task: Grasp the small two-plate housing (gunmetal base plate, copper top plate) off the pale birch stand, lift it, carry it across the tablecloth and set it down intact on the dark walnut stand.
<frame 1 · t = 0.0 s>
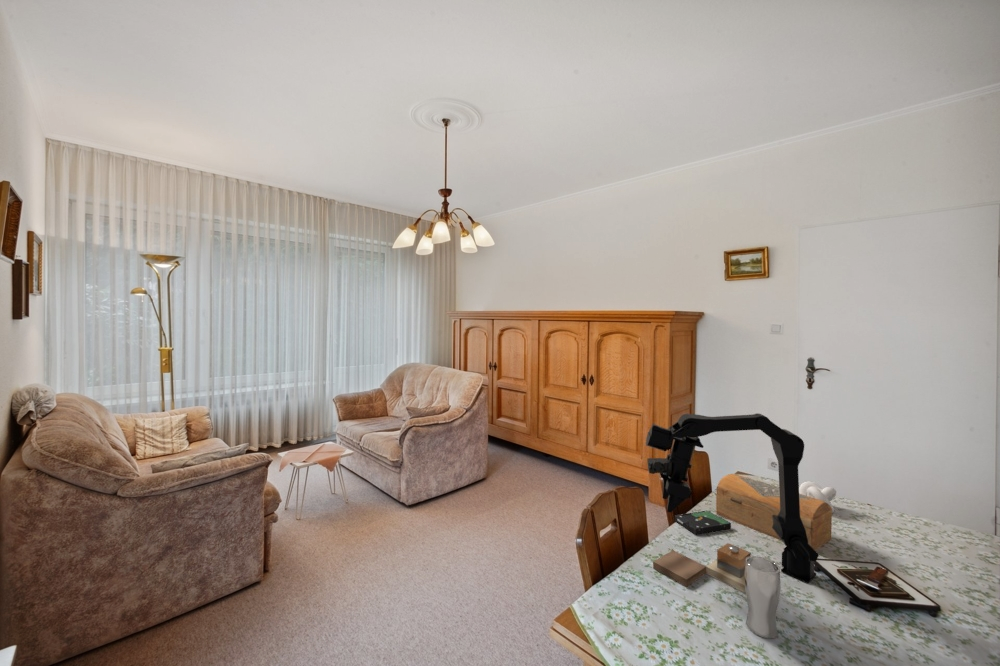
hand: (666, 505, 121), 15 cm above the table, tool pointing down, fingers open, 9 cm apart
stand a: (733, 576, 112), on the table
disk drive: (702, 527, 140), on the table
white knot sculpture: (815, 508, 153), on the table
housing: (733, 569, 112), point 2 cm above the table, touching stand a
wooden box: (771, 527, 139), on the table
stand b: (679, 570, 114), on the table
beer glass: (761, 629, 92), on the table
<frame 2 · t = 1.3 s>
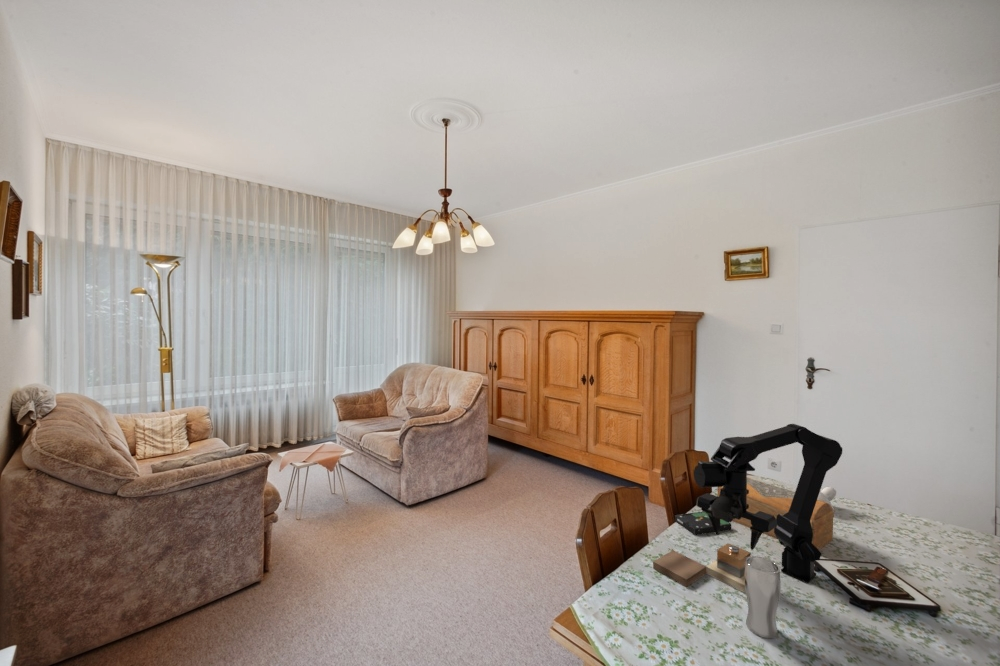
hand: (734, 541, 111), 10 cm above the table, tool pointing down, fingers open, 9 cm apart
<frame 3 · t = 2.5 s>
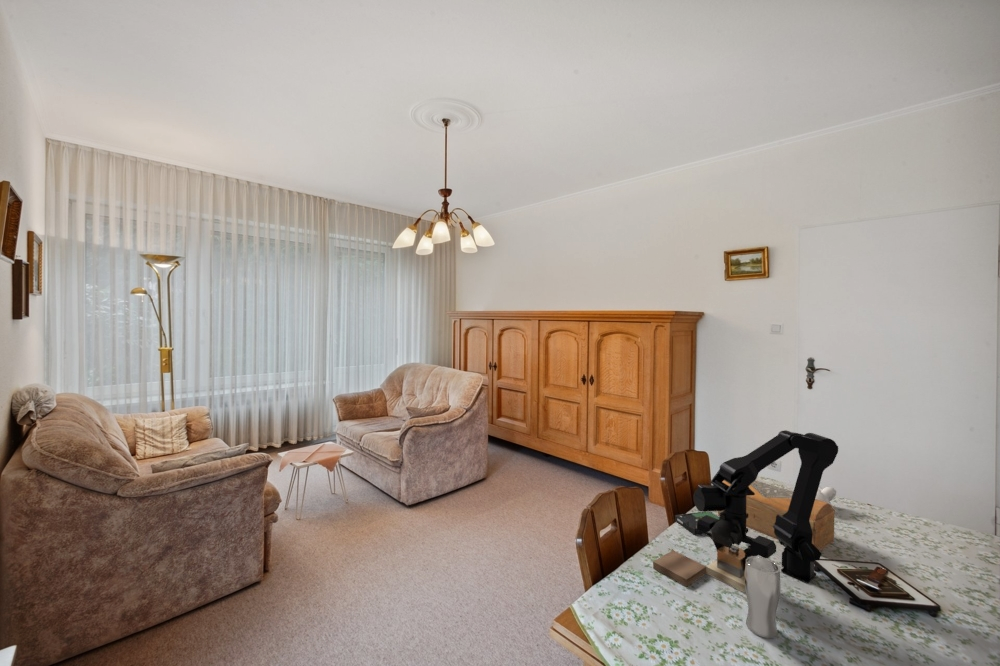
hand: (733, 565, 112), 3 cm above the table, tool pointing down, fingers closed on housing, 6 cm apart
housing: (733, 569, 112), point 2 cm above the table, touching gripper, stand a
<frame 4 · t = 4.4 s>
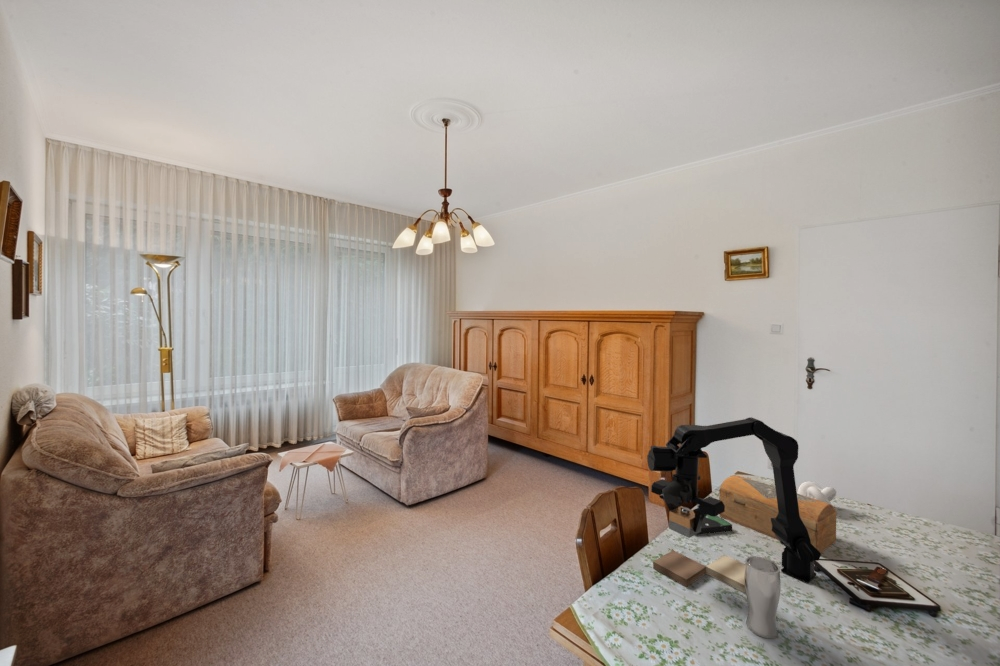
hand: (684, 526, 113), 13 cm above the table, tool pointing down, fingers closed on housing, 6 cm apart
housing: (684, 530, 113), point 12 cm above the table, touching gripper
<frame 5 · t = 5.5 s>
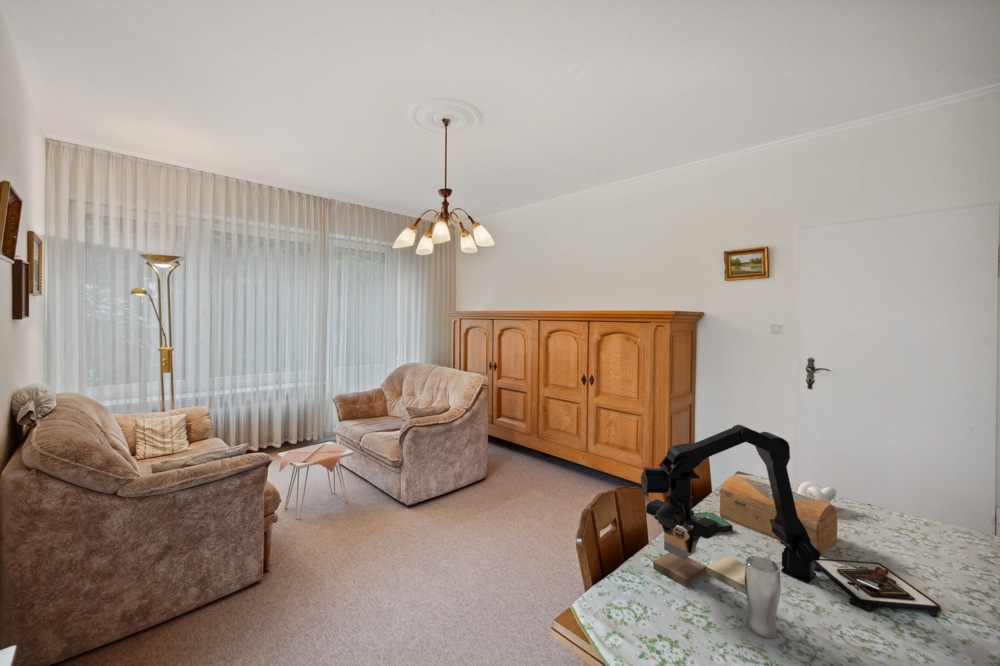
hand: (680, 547, 114), 7 cm above the table, tool pointing down, fingers closed on housing, 6 cm apart
housing: (679, 550, 114), point 6 cm above the table, touching gripper
when the fingers open (4 cm above the table, at t = 6.5 s): housing stays where it is, resting on stand b.
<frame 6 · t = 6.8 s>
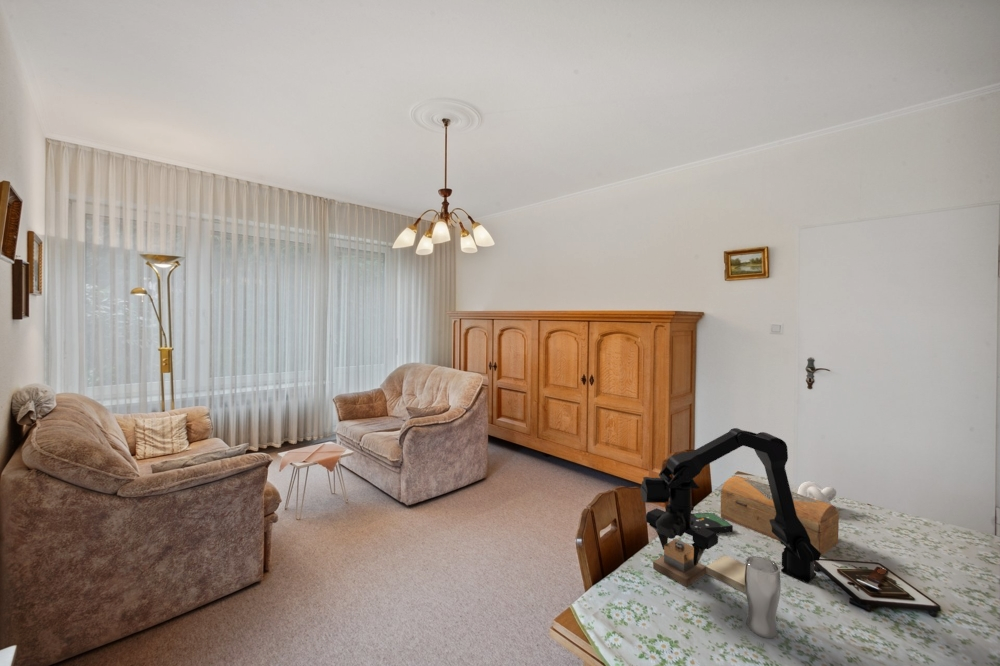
hand: (679, 557, 114), 4 cm above the table, tool pointing down, fingers open, 9 cm apart
housing: (679, 564, 114), point 2 cm above the table, touching stand b
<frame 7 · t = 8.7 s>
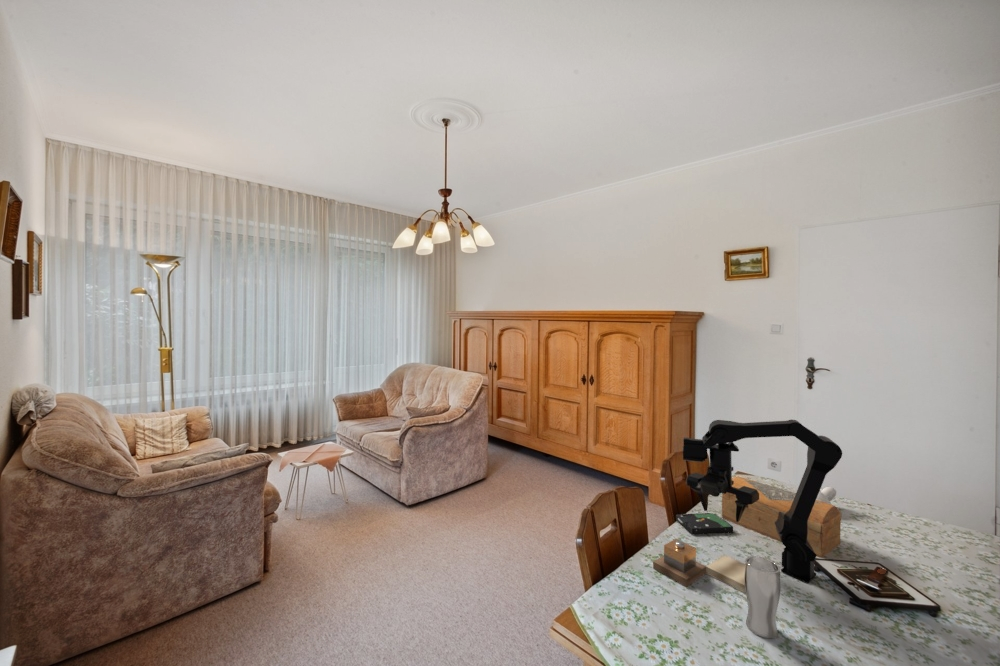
hand: (721, 515, 120), 13 cm above the table, tool pointing down, fingers open, 9 cm apart
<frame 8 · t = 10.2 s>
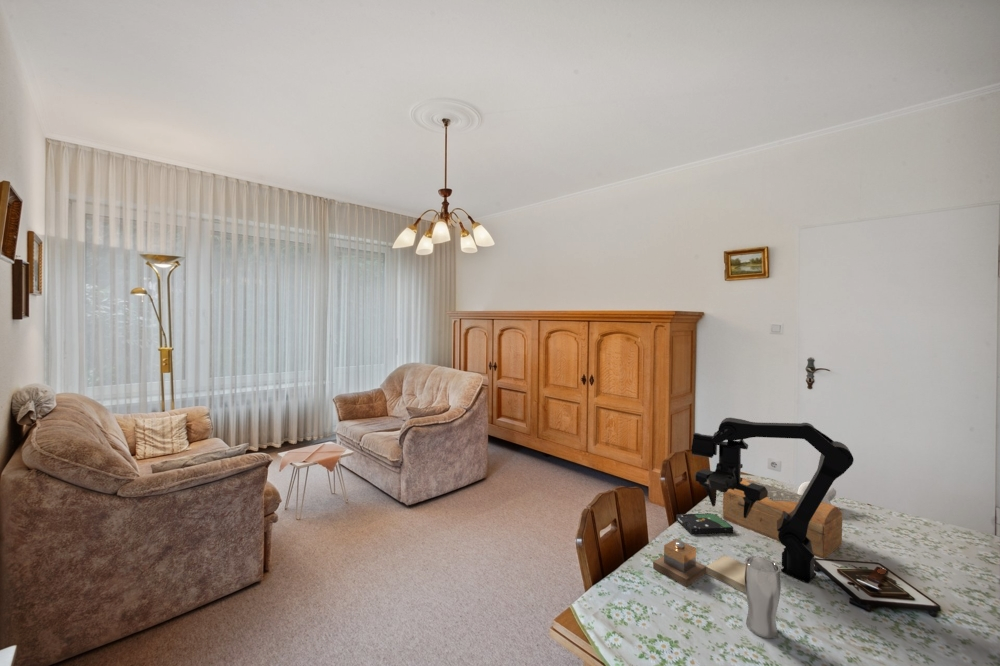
hand: (729, 511, 122), 13 cm above the table, tool pointing down, fingers open, 9 cm apart
at the end: housing inside the target area on the stand b (0.1 cm from its centre), point 2.0 cm above the stand b's base; housing tilted 0°; the gripper is holding nothing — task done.
